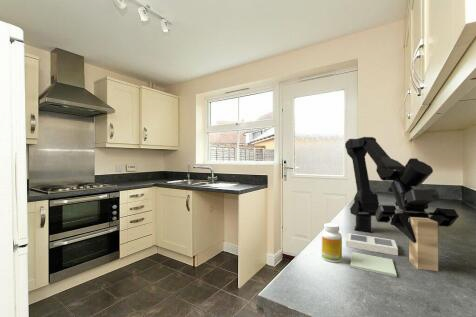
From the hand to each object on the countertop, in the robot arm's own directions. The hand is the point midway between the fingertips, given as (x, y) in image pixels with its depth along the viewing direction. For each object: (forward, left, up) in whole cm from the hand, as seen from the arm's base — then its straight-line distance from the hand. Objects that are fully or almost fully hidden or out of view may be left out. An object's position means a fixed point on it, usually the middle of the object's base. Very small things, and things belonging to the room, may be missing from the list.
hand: (425, 243), depth 59 cm
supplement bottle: (+7, -22, -7) cm, 24 cm away
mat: (+5, -12, -7) cm, 15 cm away
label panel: (-11, -12, -7) cm, 18 cm away
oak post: (-1, 0, -7) cm, 7 cm away
